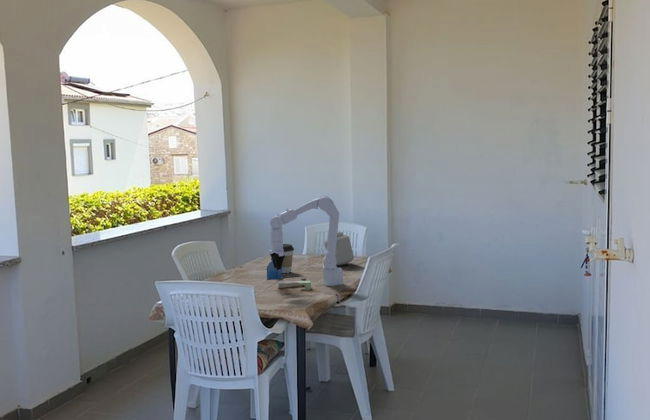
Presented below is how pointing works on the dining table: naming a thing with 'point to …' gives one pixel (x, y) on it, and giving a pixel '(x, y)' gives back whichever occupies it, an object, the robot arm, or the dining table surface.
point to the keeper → (306, 283)
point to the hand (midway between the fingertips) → (277, 268)
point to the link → (288, 284)
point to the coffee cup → (287, 258)
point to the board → (295, 289)
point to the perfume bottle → (273, 272)
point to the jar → (342, 249)
